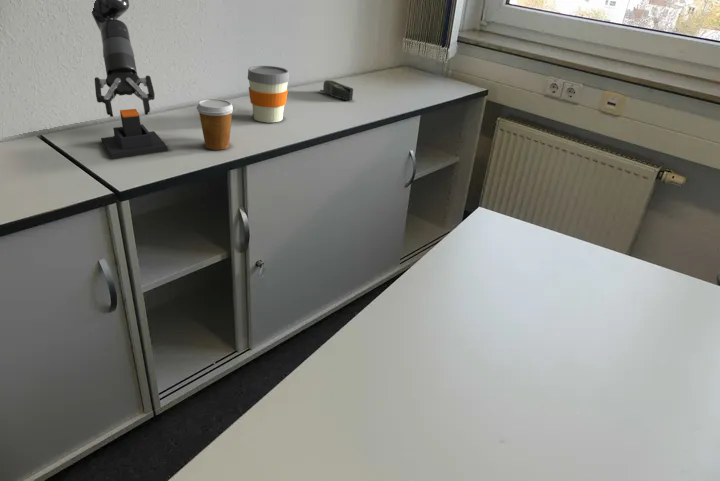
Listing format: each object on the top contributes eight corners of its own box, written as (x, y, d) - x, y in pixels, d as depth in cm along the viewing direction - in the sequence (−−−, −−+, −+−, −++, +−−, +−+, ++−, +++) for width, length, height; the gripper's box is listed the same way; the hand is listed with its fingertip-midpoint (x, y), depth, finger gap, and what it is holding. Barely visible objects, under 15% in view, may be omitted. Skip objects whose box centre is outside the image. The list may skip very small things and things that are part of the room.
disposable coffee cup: (240, 149, 149) (239, 106, 143) (206, 154, 144) (204, 109, 138) (226, 138, 156) (225, 97, 150) (194, 142, 151) (191, 99, 145)
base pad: (111, 159, 138) (109, 142, 135) (101, 143, 146) (98, 127, 144) (167, 151, 145) (165, 135, 142) (154, 136, 153) (152, 120, 151)
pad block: (127, 145, 142) (122, 116, 138) (124, 139, 146) (119, 110, 142) (143, 143, 144) (139, 114, 140) (140, 137, 147) (135, 108, 143)
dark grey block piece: (354, 87, 193) (324, 77, 201) (349, 88, 191) (319, 78, 199) (353, 101, 196) (324, 90, 204) (347, 102, 194) (318, 91, 202)
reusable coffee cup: (251, 124, 165) (250, 74, 158) (245, 112, 175) (244, 65, 168) (292, 123, 169) (293, 75, 162) (283, 112, 179) (284, 65, 172)
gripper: (147, 66, 151) (157, 119, 148) (91, 67, 145) (100, 122, 142) (147, 50, 144) (157, 106, 141) (88, 51, 139) (97, 109, 136)
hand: (129, 114), depth 142 cm, fingers open, 8 cm apart
